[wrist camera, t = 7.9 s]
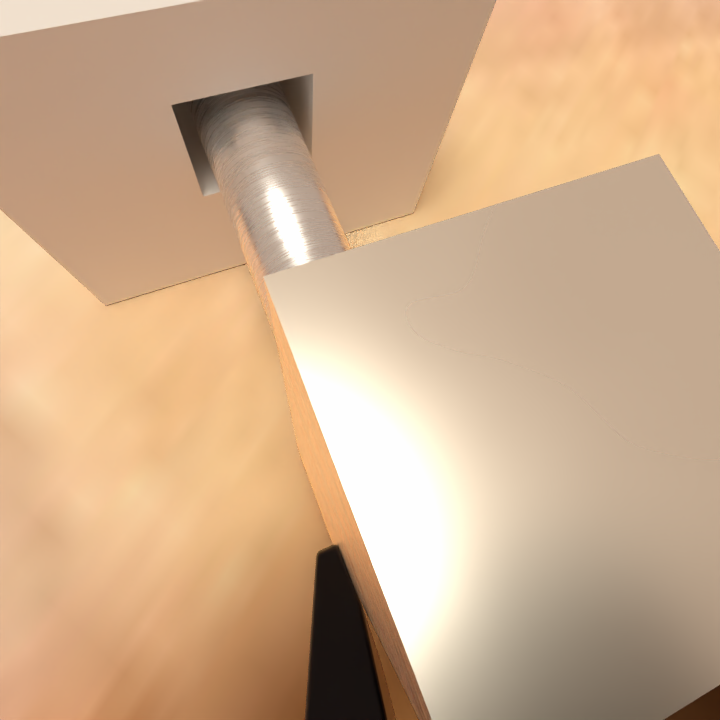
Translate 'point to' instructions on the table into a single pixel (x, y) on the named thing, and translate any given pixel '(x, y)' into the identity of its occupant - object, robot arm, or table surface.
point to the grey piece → (502, 424)
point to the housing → (179, 134)
